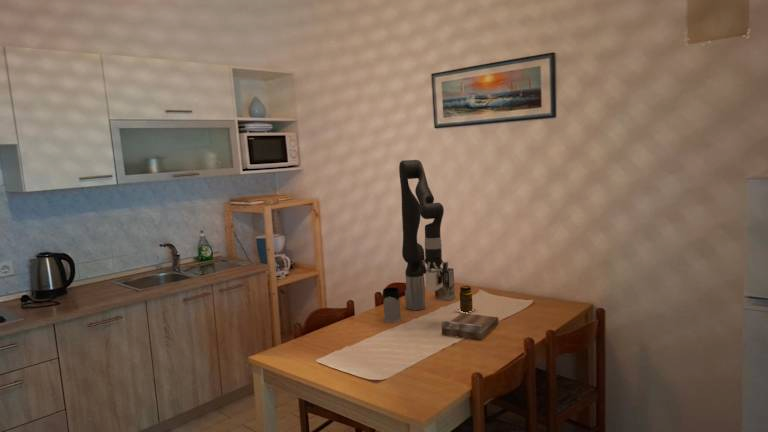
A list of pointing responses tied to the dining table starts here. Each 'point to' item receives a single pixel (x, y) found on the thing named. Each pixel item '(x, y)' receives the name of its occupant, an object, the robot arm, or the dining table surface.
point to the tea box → (432, 281)
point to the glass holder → (391, 305)
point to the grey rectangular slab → (469, 326)
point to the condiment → (465, 299)
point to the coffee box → (446, 286)
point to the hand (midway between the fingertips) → (434, 283)
